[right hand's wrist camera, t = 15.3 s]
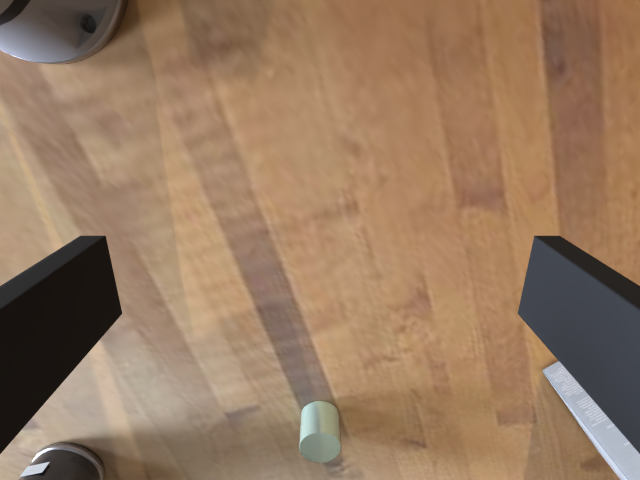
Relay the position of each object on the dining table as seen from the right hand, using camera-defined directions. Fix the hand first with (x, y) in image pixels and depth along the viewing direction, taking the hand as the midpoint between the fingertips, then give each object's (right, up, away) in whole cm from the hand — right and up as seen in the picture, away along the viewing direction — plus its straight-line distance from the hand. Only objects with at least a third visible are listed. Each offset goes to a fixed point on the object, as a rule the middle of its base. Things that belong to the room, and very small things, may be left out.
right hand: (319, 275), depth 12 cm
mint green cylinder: (0, -22, +40) cm, 45 cm away
